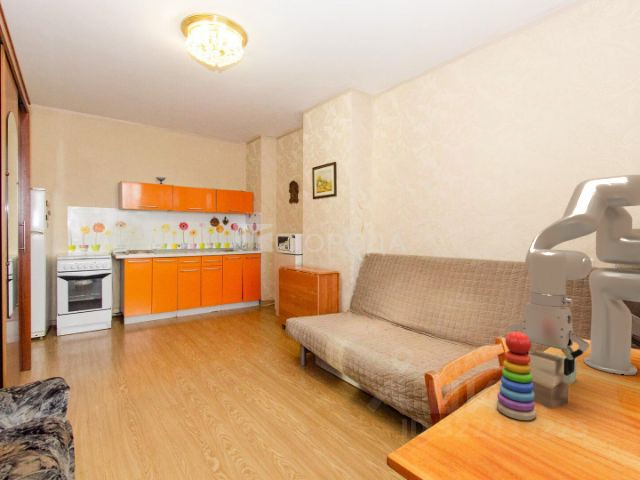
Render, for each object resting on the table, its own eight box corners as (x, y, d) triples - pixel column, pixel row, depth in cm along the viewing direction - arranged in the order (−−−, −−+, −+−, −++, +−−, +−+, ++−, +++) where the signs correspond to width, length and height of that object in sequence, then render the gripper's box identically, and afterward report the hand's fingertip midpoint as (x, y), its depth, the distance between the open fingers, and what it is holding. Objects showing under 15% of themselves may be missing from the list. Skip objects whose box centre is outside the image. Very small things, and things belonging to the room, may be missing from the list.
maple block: (536, 372, 86) (537, 350, 86) (563, 381, 81) (564, 357, 81) (526, 378, 83) (527, 354, 83) (553, 387, 78) (554, 362, 78)
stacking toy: (542, 424, 71) (545, 339, 71) (503, 419, 72) (505, 336, 72) (527, 405, 79) (529, 329, 78) (491, 401, 80) (493, 326, 80)
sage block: (556, 373, 98) (556, 354, 97) (576, 380, 93) (576, 359, 93) (549, 377, 95) (549, 357, 95) (569, 384, 91) (570, 363, 90)
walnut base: (538, 391, 87) (539, 372, 87) (567, 403, 80) (568, 383, 80) (521, 396, 84) (522, 376, 84) (550, 409, 77) (551, 388, 77)
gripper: (595, 304, 77) (593, 376, 77) (517, 293, 91) (515, 353, 91) (584, 308, 72) (581, 384, 73) (504, 295, 87) (502, 359, 87)
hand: (545, 367), depth 82 cm, fingers open, 9 cm apart
